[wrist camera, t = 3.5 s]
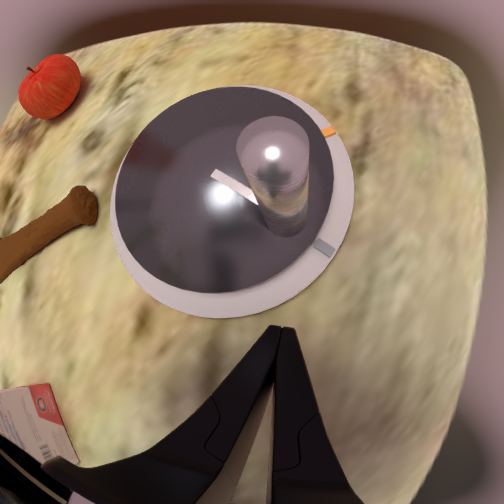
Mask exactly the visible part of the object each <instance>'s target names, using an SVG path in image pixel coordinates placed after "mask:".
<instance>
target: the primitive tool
mask: <svg viewBox="0 0 504 504" xmlns="http://www.w3.org/2000/svg"><path fill="white" fill-rule="evenodd" d="M97 207H98V204H97V201H96V198H95V196H94V194H93V193H92V192H90V191H89V190H88V189H87V187H86V186H75V187H74V188H72V189H71V191H70V193H69V194H68V195H67V197H66V198H64V199H63V200H62V201H61V202H60V203H59V204H57V205H55V206H54V207H53V208H51V209H49V210H48V211H47V212H46V213H45V214H44V215H43V216H41V217H39V218H38V219H36V220H34V221H32V222H31V223H29V224H28V225H27V226H24V227H23V228H21V229H20V230H19V231H17V232H15V233H13V234H11V235H10V236H8V237H5V238H4V239H2V238H0V284H1V283H2V282H3V281H4V280H5V279H6V278H7V277H8V276H9V275H10V274H11V273H12V272H13V271H14V270H15V269H16V268H18V267H19V266H20V265H22V264H23V262H25V261H26V260H27V259H29V258H30V257H31V256H32V255H34V254H35V253H36V252H38V251H39V250H40V249H42V248H43V247H44V246H45V245H47V244H48V243H49V242H50V241H51V240H53V239H54V238H56V237H58V236H59V235H61V234H62V233H64V232H66V231H68V230H69V229H71V228H73V227H75V226H77V225H79V224H84V225H89V226H90V225H92V224H93V223H94V222H95V221H96V219H97V214H98V211H97Z"/></svg>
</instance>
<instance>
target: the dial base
mask: <svg viewBox="0 0 504 504" xmlns="http://www.w3.org/2000/svg"><path fill="white" fill-rule="evenodd" d="M227 87H252V88H258V89H262V90H267V91H270V92H273V93H275V94H278V95H280V96H282V97H284V98H286V99H288V100H290V101H292V102H293V103H295V104H296V105H298V106H299V107H300V108H302V109H303V110H304V111H305V112H306V113H307V114H308V115H309V116H310V117H311V118H312V119H313V120H314V122H315V123H316V124H317V125H318V127H319V128H320V130H321V132H322V133H323V135H324V137H325V139H326V142H327V144H328V146H329V149H330V153H331V157H332V161H333V170H334V184H333V193H332V198H331V202H330V206H329V210H328V214H327V216H326V219H325V222H324V224H323V227H322V229H321V230H320V232H319V234H318V236H317V237H316V239H315V241H314V242H313V243H312V245H311V246H310V247H309V249H308V250H307V251H306V252H305V254H304V255H303V256H302V257H301V258H300V259H299V260H298V261H297V262H296V263H294V264H293V265H292V266H291V267H290V268H288V269H287V270H286V271H284V272H283V273H282V274H280V275H279V276H277V277H275V278H273V279H271V280H270V281H268V282H266V283H264V284H261V285H258V286H256V287H253V288H251V289H247V290H243V291H239V292H235V293H225V294H206V293H198V292H193V291H188V290H183V289H180V288H177V287H174V286H171V285H168V284H166V283H164V282H163V281H161V280H159V279H157V278H155V277H154V276H153V275H151V274H150V273H149V272H147V271H146V270H145V269H144V268H143V267H142V266H141V265H140V264H139V263H138V262H137V261H136V260H135V259H134V257H133V256H132V255H131V253H130V252H129V250H128V249H127V247H126V245H125V243H124V241H123V239H122V237H121V234H120V231H119V228H118V224H117V219H116V212H115V193H116V185H117V180H118V176H119V173H120V170H121V167H122V164H123V162H124V159H125V157H126V155H127V154H126V155H125V157H124V159H123V161H122V163H121V166H120V168H119V170H118V173H117V176H116V179H115V182H114V186H113V191H112V197H111V207H110V218H111V229H112V235H113V240H114V243H115V246H116V249H117V252H118V255H119V257H120V259H121V261H122V263H123V265H124V266H125V268H126V270H127V271H128V272H129V274H130V275H131V277H132V278H133V279H134V280H135V282H136V283H137V284H138V285H139V286H140V287H141V288H142V289H143V290H144V291H145V292H147V293H148V294H149V295H151V296H152V297H153V298H154V299H156V300H157V301H159V302H161V303H163V304H164V305H166V306H168V307H170V308H172V309H175V310H178V311H180V312H183V313H186V314H190V315H195V316H200V317H207V318H231V317H242V316H247V315H251V314H255V313H260V312H263V311H265V310H268V309H270V308H273V307H276V306H278V305H280V304H282V303H284V302H285V301H287V300H289V299H291V298H293V297H294V296H296V295H297V294H298V293H300V292H301V291H302V290H304V289H305V288H306V287H308V286H309V285H310V284H311V283H312V282H313V281H314V280H315V279H316V278H317V277H318V276H319V275H320V274H321V273H322V272H323V271H324V269H325V268H326V267H327V265H328V264H329V263H330V261H331V260H332V259H333V257H334V255H335V254H336V252H337V250H338V248H339V246H340V245H341V243H342V241H343V239H344V236H345V234H346V231H347V228H348V226H349V223H350V219H351V214H352V209H353V203H354V180H353V171H352V167H351V163H350V159H349V156H348V154H347V151H346V149H345V147H344V144H343V142H342V141H341V139H340V137H339V136H338V134H337V132H336V131H335V129H334V128H333V127H332V126H331V125H330V123H329V122H328V121H327V120H326V119H325V118H324V117H323V116H322V115H321V114H320V113H319V112H318V111H316V110H315V109H314V108H312V107H311V106H310V105H308V104H307V103H305V102H304V101H302V100H300V99H298V98H296V97H294V96H292V95H290V94H287V93H284V92H281V91H279V90H275V89H271V88H266V87H260V86H250V85H236V86H227ZM220 88H222V87H220ZM131 146H132V145H131ZM130 148H131V147H130ZM128 151H129V150H128ZM127 153H128V152H127Z"/></svg>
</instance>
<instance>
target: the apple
mask: <svg viewBox="0 0 504 504" xmlns="http://www.w3.org/2000/svg"><path fill="white" fill-rule="evenodd" d="M27 70H30V71H31V72H30V73H29V74H28V75H27V76H26V78H25V79H24V80H23V82H22V83H21V85H20V87H19V91H18V98H19V101H20V103H21V105H22V107H23V108H24V109H25V111H26V112H27V113H28V114H30V115H32V116H33V117H36V118H41V119H49V118H53V117H56V116H58V115H59V114H61V113H62V112H64V111H65V110H66V109H67V108H68V107H69V106H70V105H71V104H72V102H73V101H74V99H75V97H76V95H77V93H78V91H79V89H80V85H81V75H80V71H79V68H78V66H77V64H76V63H75V62H74V61H73V60H72V59H71V58H70V57H68V56H65V55H61V54H55V55H51V56H48V57H46V58H45V59H43V60H42V61H41V62H40V63H39V64H38V65H37V66H36V67H35V68H34V69H33V70H32V69H31V68H30V67H27Z"/></svg>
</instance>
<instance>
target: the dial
mask: <svg viewBox="0 0 504 504" xmlns="http://www.w3.org/2000/svg"><path fill="white" fill-rule="evenodd" d="M333 184H334V170H333V161H332V157H331V153H330V149H329V146H328V144H327V142H326V139H325V137H324V135H323V133H322V132H321V130H320V128H319V127H318V125H317V124H316V123H315V122H314V120H313V119H312V118H311V117H310V116H309V115H308V114H307V113H306V112H305V111H304V110H303V109H302V108H300V107H299V106H298V105H296V104H295V103H293V102H292V101H290V100H288V99H286V98H284V97H282V96H280V95H278V94H275V93H273V92H270V91H267V90H262V89H258V88H252V87H222V88H215V89H211V90H207V91H203V92H200V93H197V94H194V95H191V96H189V97H187V98H185V99H183V100H181V101H179V102H177V103H175V104H174V105H172V106H170V107H169V108H167V109H166V110H165V111H163V112H162V113H160V114H159V115H158V116H157V117H156V118H155V119H154V120H152V121H151V122H150V123H149V124H148V125H147V126H146V128H145V129H144V130H143V131H142V132H141V133H140V135H139V136H138V137H137V139H136V140H135V141H134V143H133V144H132V146H131V148H130V149H129V151H128V153H127V155H126V157H125V159H124V162H123V164H122V167H121V170H120V173H119V176H118V180H117V185H116V193H115V212H116V219H117V224H118V228H119V231H120V234H121V237H122V239H123V241H124V243H125V245H126V247H127V249H128V250H129V252H130V253H131V255H132V256H133V257H134V259H135V260H136V261H137V262H138V263H139V264H140V265H141V266H142V267H143V268H144V269H145V270H146V271H147V272H149V273H150V274H151V275H153V276H154V277H155V278H157V279H159V280H161V281H163V282H164V283H166V284H168V285H171V286H174V287H177V288H180V289H183V290H188V291H193V292H198V293H206V294H225V293H235V292H239V291H243V290H247V289H251V288H253V287H256V286H258V285H261V284H264V283H266V282H268V281H270V280H271V279H273V278H275V277H277V276H279V275H280V274H282V273H283V272H284V271H286V270H287V269H288V268H290V267H291V266H292V265H293V264H294V263H296V262H297V261H298V260H299V259H300V258H301V257H302V256H303V255H304V254H305V252H306V251H307V250H308V249H309V247H310V246H311V245H312V243H313V242H314V241H315V239H316V237H317V236H318V234H319V232H320V230H321V229H322V227H323V224H324V222H325V219H326V216H327V214H328V210H329V206H330V202H331V198H332V193H333Z"/></svg>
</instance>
